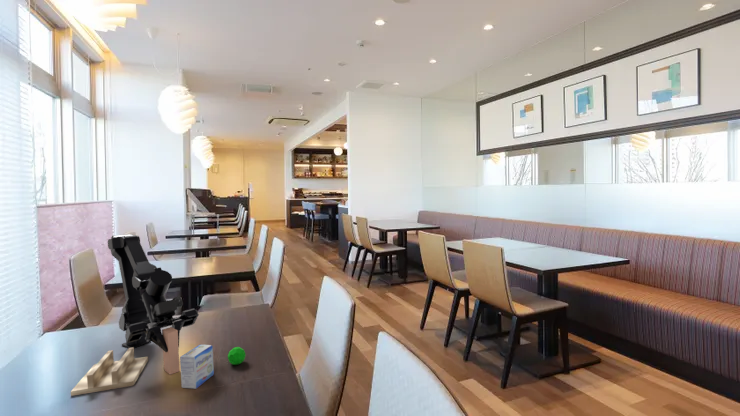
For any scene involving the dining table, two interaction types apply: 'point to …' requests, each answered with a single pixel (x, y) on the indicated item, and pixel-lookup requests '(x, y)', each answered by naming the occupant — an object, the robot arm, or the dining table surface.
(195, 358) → the medicine box
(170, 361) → the pink rectangular block
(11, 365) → the dining table surface
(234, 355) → the polyhedron
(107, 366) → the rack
